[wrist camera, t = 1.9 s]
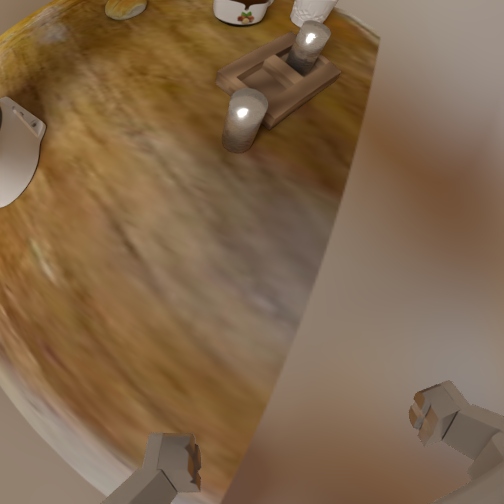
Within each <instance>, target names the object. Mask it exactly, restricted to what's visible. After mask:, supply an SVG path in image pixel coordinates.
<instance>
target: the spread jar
mask: <svg viewBox="0 0 504 504" xmlns="http://www.w3.org/2000/svg"><path fill="white" fill-rule="evenodd" d="M273 1H274V0H214V3H213V10H214V14H215V16H216V18H217V19H219V20H220V21H221V22H223V23H225V24H227V25H231V26H235V27H245V26H250V25H254V24H256V23H258V22H259V21H261V19H262V18H263V17H264V15H265V12H266V9H267V7H268V6H270V5H271V4H272V2H273Z"/></svg>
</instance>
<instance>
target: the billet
mask: <svg viewBox="0 0 504 504" xmlns="http://www.w3.org/2000/svg"><path fill="white" fill-rule="evenodd" d="M267 108H268V101H267V99H266V97H265V96H264V95H263V94H262V93H261V92H259V91H257V90H255V89H251V88H243V89H240V90H237V91H236V92H235V93H234V94H233V95H232V97H231V100H230V104H229V108H228V113H227V117H226V121H225V126H224V130H223V134H222V144H223V146H224V147H225V148H226V149H227V150H228V151H230V152H232V153H237V154H239V153H244V152H246V151H247V150H248V149H249V148H250V147H251V145H252V143H253V140H254V138H255V136H256V133H257V131H258V129H259V127H260V124H261V122H262V120H263V118H264V115H265V113H266V111H267Z"/></svg>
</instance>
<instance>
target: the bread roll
mask: <svg viewBox="0 0 504 504" xmlns="http://www.w3.org/2000/svg"><path fill="white" fill-rule="evenodd" d="M146 5H147V0H108V2H107V4H106V6H105V13H106V15H107V16H108V17H111V18H113V19H115V20H125V19H129V18H132V17H134V16H136V15H138V14H140V13H141V12H143V11H144V10H145V7H146Z"/></svg>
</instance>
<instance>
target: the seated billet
mask: <svg viewBox="0 0 504 504" xmlns="http://www.w3.org/2000/svg"><path fill="white" fill-rule="evenodd" d="M330 35H331V32H330V30H329V29H328V27H326V26H325V25H324V24H322V23H320V22H318V21H314V20H307V21H305V22H304V23H303V25H302V27H301V29H300V31H299V33H298V35H297V37H296V39H295V42H294V44H293V46H292V48H291V50H290V52H289V54H288V57H287V59H286V61H285V63H286V64H288V65H289V66H290V67H291V68H293V69H294V70H295V71H296V72H298V73H299V74H300V75H301V76H303V75H306V74H308V73H309V71H310V69H311V67H312V66H313V64H314V62H315V61H316V59H317V57H318V56H319V54H320V52H321V50H322V49H323V47H324V45H325V44H326V42H327V40H328V39H329V37H330Z"/></svg>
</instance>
